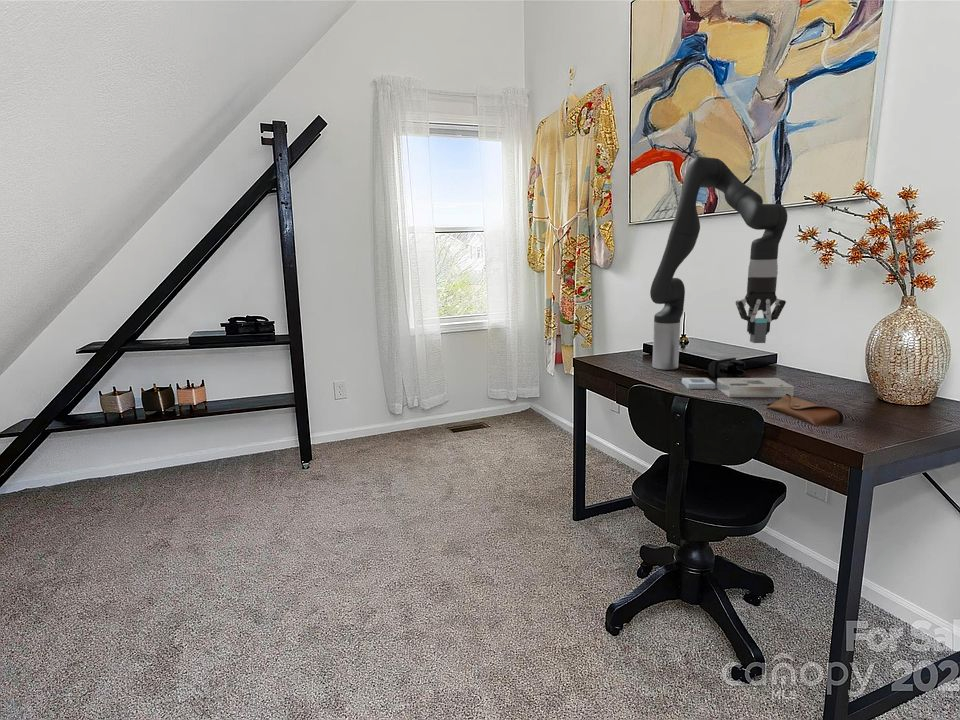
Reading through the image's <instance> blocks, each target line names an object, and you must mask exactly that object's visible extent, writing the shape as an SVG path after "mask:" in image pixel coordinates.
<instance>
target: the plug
mask: <svg viewBox="0 0 960 720" xmlns="http://www.w3.org/2000/svg"><path fill="white" fill-rule="evenodd" d="M754 322H755V326H754V335H750V334H749V342H751V343H753V344H766V340H767V335H766V329H767V319H765V318H763V317H755V320H754Z"/></svg>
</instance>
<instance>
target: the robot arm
mask: <svg viewBox="0 0 960 720" xmlns="http://www.w3.org/2000/svg"><path fill="white" fill-rule="evenodd" d="M682 183H683V184H682V186H681V192H680V197H679V201H678V205H677V209H676V213H675V217H674V219H673V222H672V225H671V228H670V231H669V234H668V237H667V242H666V245H665V248H664V252H663V255H662V257H661V259H660V260H661V261H660V262H659V265H658V268H657V271H656V273H655V276H654V278H653V279H652V283H651V286H650V292H649V293H650V294H649V296H650V298H651V300H652V302H653V303H654V304H656V305H664V306H663V307H662V309H661V310H659V311H657V313H655V314H654V315H653V316H654V317H653V341H652V343H653V344H652V363H651V364H652V366H651V367H652V368H653V369H657V370H669V371H670V370H677V369H679V356H680V338H681V337H680V336H681V335H680V334H681V319H682V316H683V313H684V308H685V307H684V305H685V298H686V297H685V296H686V289H685V284H684V282H683V280H682V279H680V278H678V277H674V276H675V274H676V271H677V269H679V267H680V266H681V264H682V263H683V262H684V261H685V260H686V259H687V258H688V257H689V255H690V253H691V252H692V251H693V250H694V247H695V246H696V244H697V240H698V237H699V233H700V230H701V223H700V222H701V221H700V219H699V214H698V210H697V200H698V199H697V198H698V196H699V191H700V189H701V188H705V189H706V188H707V189H708V188H714V189H716V190H718V191H721V192H722V193H724V194H723V195H724V200H725V202H726V203H727V205H729V206H730V207H731V208H732V209H733V210H735V211H736V212H738V213H739V214H740V215H741V216H740V217H741V218H742V220H743V221H744V223H745V224H746V226H747V227H749V228H750V229H754V230H757V231H758V230H760V231H761V230H763V231H764V232H763V234H762V236H761V237H760V238H756V239H754V240H752V242H751V244H750V257H749V265H748V270H747V283H746V284H747V286H746V295H745V297H744V298H742V299H740V300H736V301H735V305H736V308H737V310H738V314H739V317H740V318H741V320H744V321H746V322H747V325H746V329H747V330H746V332H747V333H748V334H749V336H750V335H754V326H755V322H754V320H755V318H756V316H757V314H758V312H759V311H761V314H762V315H763V316H762V318H765V319H767V329H766V336H767V335H768V334H769V333H770V331H771V322H773V321H774V320H775V321H776V320H778V319H779V317H780V315H781V313H782V311H783V309H784V308H785V305H786V303H787V301H786V300H783V299H780V298H778V297H777V294H776V292H777V282H778V273H779V271H778V269H779V268H778V267H779V265H778V258H779V255H778V254H779V245H780V242H781V240H782V237H783V235H784V234H783V233H784V231H785V228H786V226H787V222H788V210H787V209H786V207H785V206H784V205H783V204H780V203H764V200H763V197H762V195H760V194H759V193H758V192H756V191H755V190H753V189H752V188H751V187H749V186H748V185H747V184H745V183H744V182H742V181H741V180H740V179H739V178H738V177H737V176H736V175H735V173H734V172H733V171H732V170H731V169H730V168H729V166H727V164H726V163H725V162H724V161H723V160H721V159H720V158H715V157H707V156H706V157H705V156H695V157H693V158H692V159H691V160H690V161H689V163H688V164H687V167H686V170H685V174H684V178H683V181H682ZM773 304H774V308H773V310H772V309H771V307H772V306H773ZM746 305H748V307H749V308H748V314H747V311H746V308H745V307H746Z"/></svg>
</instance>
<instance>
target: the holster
mask: <svg viewBox="0 0 960 720" xmlns="http://www.w3.org/2000/svg"><path fill="white" fill-rule="evenodd" d="M681 383H682V384H683V386H685V387H686V388H687V389H688V390H691V389H692V390H693V389H694V390H695V389H696V390H698V389H699V390H700V389H701V390H703V389H704V390H706V389H707V390H708V389H709V390H710V389H712V390H714V389H716V383H715V382H714V381H712V380H711V379H710V378H708V377H681Z"/></svg>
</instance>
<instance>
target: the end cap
mask: <svg viewBox="0 0 960 720" xmlns="http://www.w3.org/2000/svg"><path fill="white" fill-rule="evenodd" d="M738 367H743V368H745V367H746V362H745V361H742V360H737V358H736V357H730V358H724V359H717V360H713V361H711V362H709V363H708V366H707V371H708V374H709V376H710V377H711V378H733V377H735V378H743V376H745V370H743V369H739V368H738Z"/></svg>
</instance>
